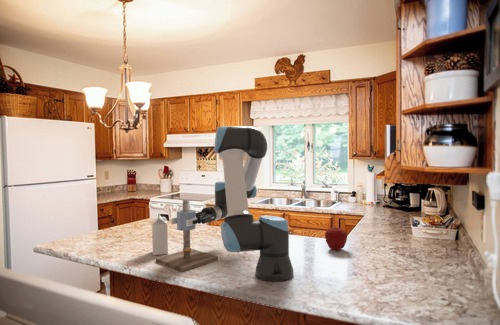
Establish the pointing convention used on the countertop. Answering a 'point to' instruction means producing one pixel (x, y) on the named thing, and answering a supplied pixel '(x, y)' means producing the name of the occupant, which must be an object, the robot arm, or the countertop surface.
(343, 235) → the apple
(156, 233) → the milk carton
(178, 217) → the sleeve
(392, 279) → the countertop surface
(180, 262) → the post stand
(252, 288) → the countertop surface
